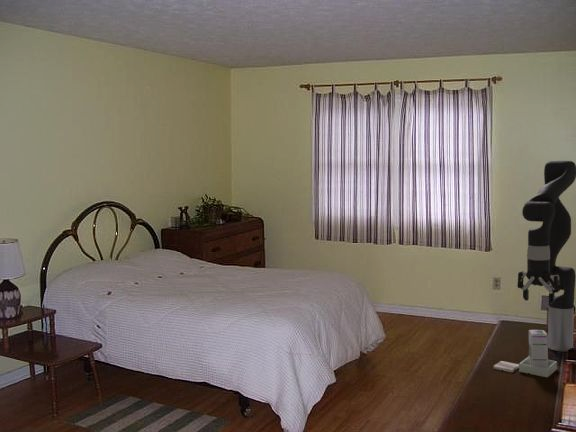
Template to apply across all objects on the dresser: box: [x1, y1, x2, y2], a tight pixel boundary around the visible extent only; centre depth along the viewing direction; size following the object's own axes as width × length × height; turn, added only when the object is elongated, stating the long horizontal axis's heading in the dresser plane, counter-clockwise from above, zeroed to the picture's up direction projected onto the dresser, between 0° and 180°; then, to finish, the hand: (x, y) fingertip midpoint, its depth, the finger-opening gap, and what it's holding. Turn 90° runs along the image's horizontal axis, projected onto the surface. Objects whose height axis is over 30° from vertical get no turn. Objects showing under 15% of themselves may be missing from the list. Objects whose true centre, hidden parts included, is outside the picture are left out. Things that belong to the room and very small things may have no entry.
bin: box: [518, 356, 558, 378], centre depth 222 cm, size 10×10×3 cm
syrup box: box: [528, 329, 549, 369], centre depth 222 cm, size 6×6×14 cm
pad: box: [493, 360, 519, 373], centre depth 226 cm, size 7×7×1 cm
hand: (538, 301), depth 220 cm, fingers open, 8 cm apart
